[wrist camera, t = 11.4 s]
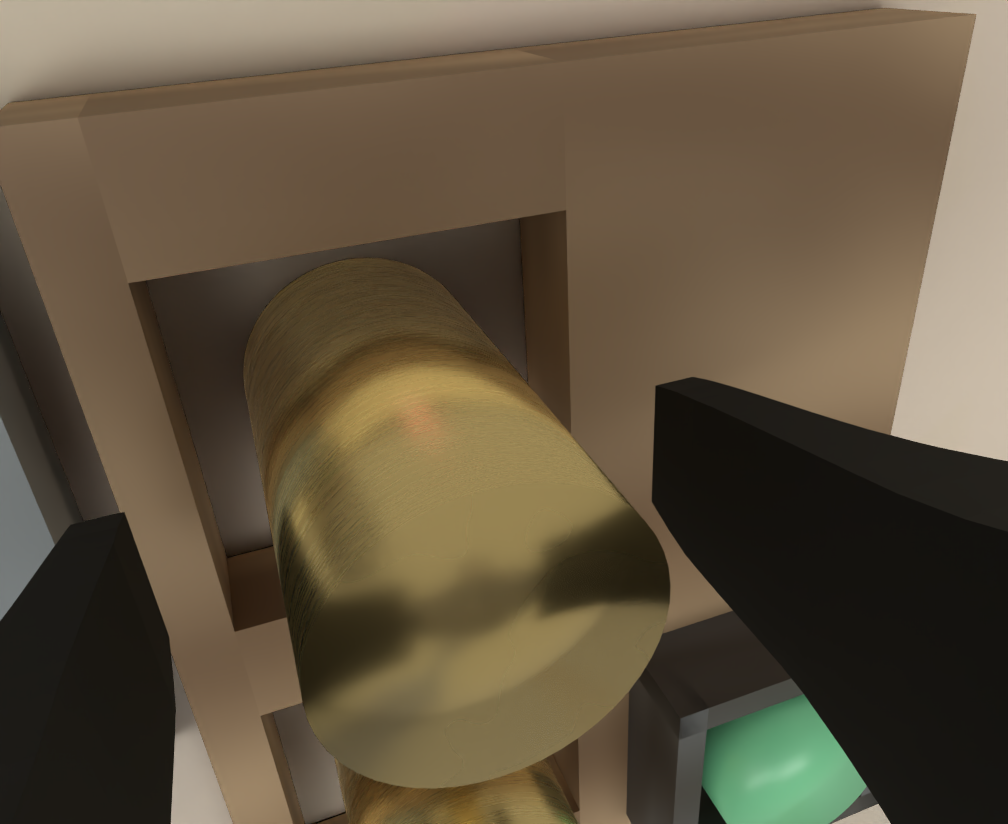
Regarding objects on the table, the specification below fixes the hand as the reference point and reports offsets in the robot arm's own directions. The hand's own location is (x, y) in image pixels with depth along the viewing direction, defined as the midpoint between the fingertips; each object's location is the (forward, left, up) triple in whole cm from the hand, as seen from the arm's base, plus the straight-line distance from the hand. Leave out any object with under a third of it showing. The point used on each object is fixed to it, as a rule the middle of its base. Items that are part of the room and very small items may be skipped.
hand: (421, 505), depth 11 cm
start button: (-9, -7, -2) cm, 11 cm away
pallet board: (-4, -3, -4) cm, 6 cm away
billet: (0, 0, -4) cm, 4 cm away
